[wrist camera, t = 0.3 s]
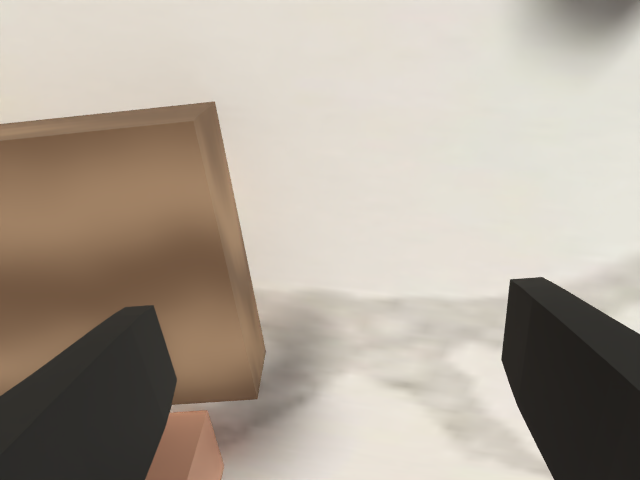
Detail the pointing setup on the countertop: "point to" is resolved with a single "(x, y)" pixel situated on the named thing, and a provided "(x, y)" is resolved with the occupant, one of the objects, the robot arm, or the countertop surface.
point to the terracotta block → (187, 449)
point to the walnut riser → (127, 244)
